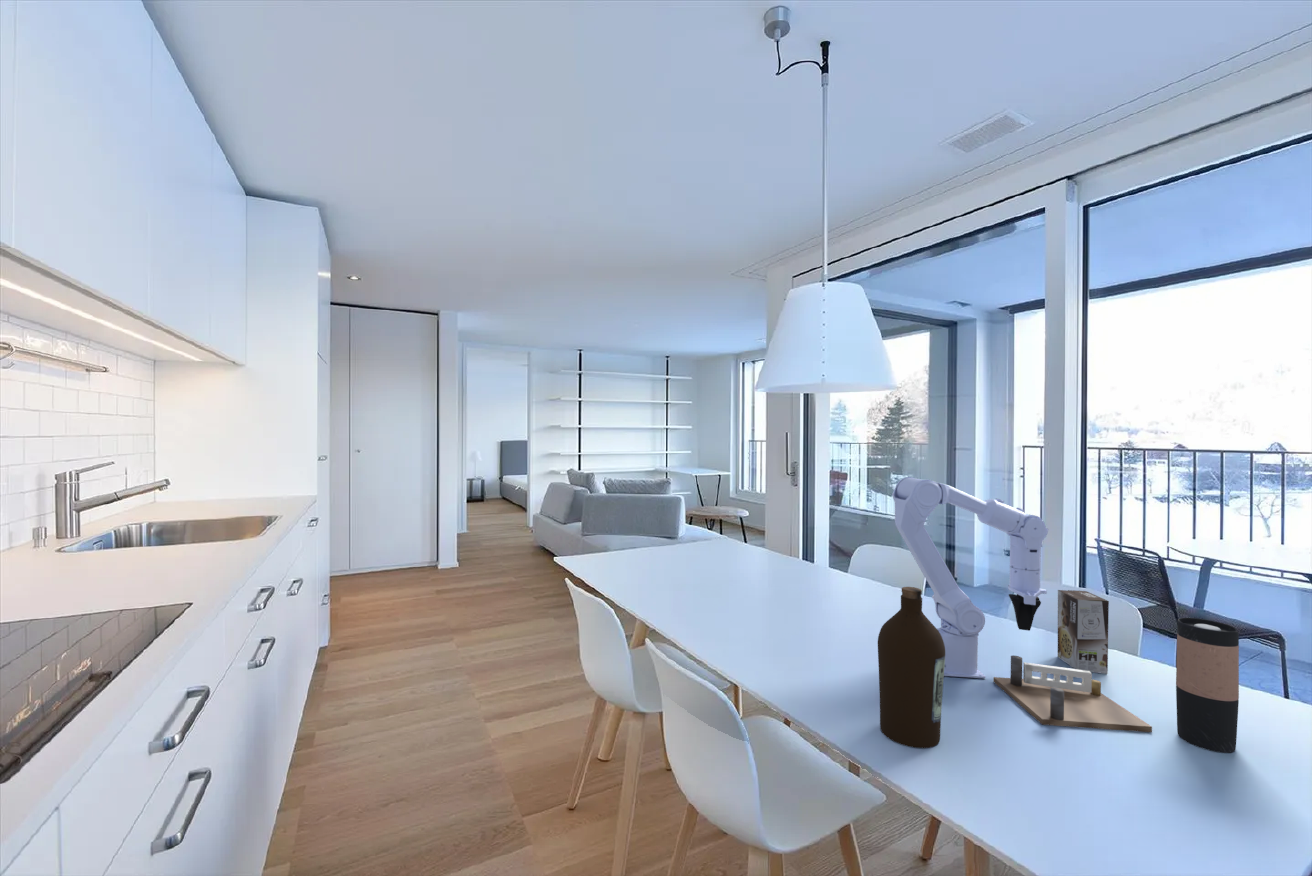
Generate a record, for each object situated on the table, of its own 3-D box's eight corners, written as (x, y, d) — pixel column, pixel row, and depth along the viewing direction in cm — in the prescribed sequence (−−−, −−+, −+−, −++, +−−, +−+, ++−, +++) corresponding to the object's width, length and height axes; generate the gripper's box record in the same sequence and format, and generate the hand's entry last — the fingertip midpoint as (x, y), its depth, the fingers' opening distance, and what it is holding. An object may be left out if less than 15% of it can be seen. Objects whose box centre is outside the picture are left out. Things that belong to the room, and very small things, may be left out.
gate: (1024, 683, 114) (1025, 664, 114) (1023, 680, 115) (1023, 662, 115) (1091, 692, 110) (1091, 673, 110) (1089, 690, 111) (1089, 671, 111)
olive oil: (872, 740, 94) (874, 591, 94) (880, 713, 103) (882, 578, 104) (943, 758, 89) (945, 601, 89) (944, 728, 98) (946, 586, 99)
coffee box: (1109, 674, 123) (1110, 601, 123) (1076, 671, 124) (1077, 599, 125) (1086, 658, 132) (1087, 590, 132) (1055, 656, 133) (1056, 588, 133)
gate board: (1042, 724, 100) (1042, 688, 100) (993, 681, 118) (993, 651, 118) (1151, 732, 98) (1152, 695, 98) (1085, 687, 116) (1085, 656, 116)
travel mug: (1163, 730, 99) (1164, 617, 99) (1202, 729, 100) (1204, 617, 100) (1209, 755, 91) (1210, 632, 91) (1251, 753, 92) (1253, 631, 92)
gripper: (1053, 576, 116) (1052, 642, 116) (1040, 563, 129) (1039, 622, 129) (1013, 572, 119) (1012, 636, 119) (1004, 560, 132) (1003, 617, 132)
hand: (1023, 629), depth 124 cm, fingers closed
